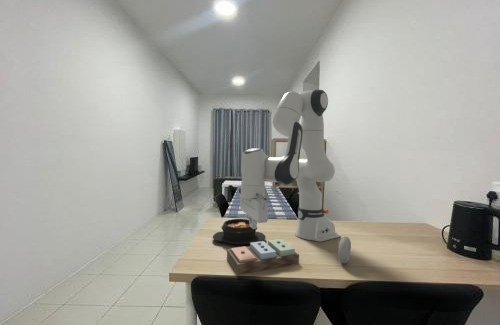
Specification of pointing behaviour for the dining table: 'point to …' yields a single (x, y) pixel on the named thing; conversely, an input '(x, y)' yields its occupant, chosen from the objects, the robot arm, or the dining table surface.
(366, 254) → the dining table surface
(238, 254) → the counting block
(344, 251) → the donut
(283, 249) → the counting block
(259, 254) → the counting block
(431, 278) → the dining table surface
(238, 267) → the wooden counting block tray
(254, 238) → the casserole
